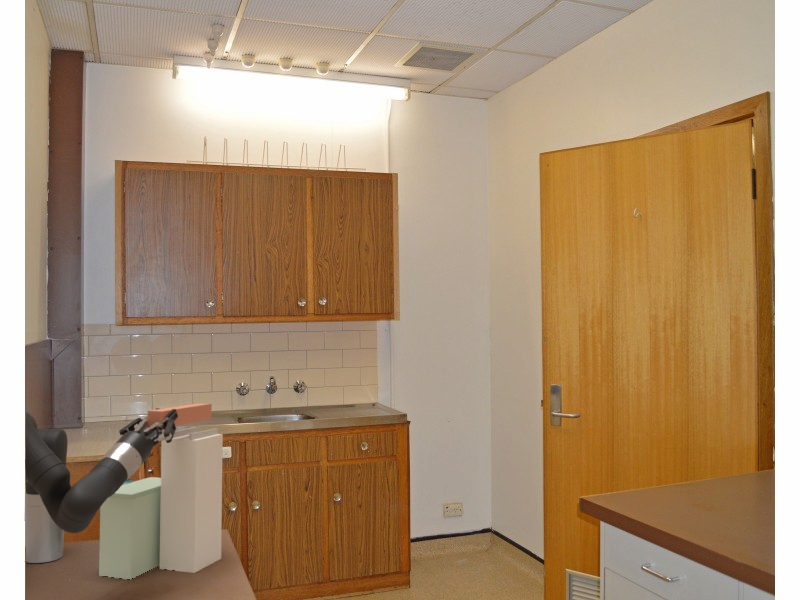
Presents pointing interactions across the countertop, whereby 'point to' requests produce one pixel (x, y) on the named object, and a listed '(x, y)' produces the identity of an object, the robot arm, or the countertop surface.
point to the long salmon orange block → (182, 414)
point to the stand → (191, 500)
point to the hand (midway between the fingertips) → (167, 411)
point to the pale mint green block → (131, 530)
